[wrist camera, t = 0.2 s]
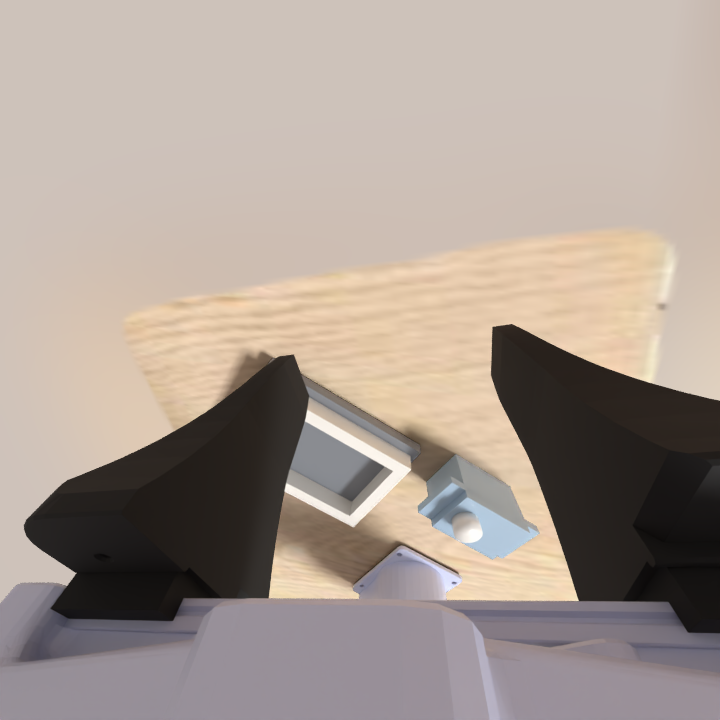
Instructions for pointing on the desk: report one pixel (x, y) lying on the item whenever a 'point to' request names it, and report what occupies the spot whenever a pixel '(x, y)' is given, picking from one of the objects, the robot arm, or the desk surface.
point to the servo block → (475, 509)
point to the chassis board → (346, 457)
